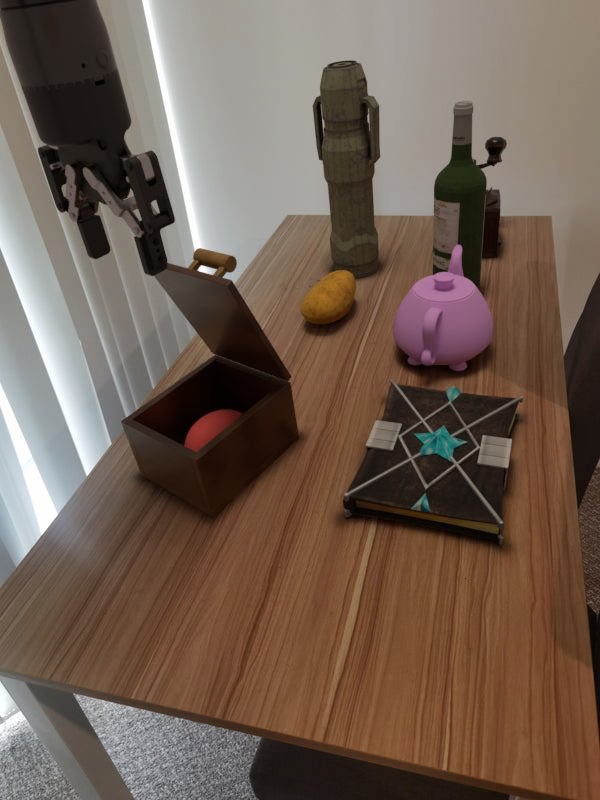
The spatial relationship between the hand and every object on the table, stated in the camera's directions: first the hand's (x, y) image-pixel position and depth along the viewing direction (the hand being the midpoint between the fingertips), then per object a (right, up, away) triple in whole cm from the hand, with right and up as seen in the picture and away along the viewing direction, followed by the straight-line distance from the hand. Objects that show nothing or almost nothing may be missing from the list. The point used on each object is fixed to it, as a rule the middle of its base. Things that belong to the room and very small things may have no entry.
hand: (127, 263), depth 57 cm
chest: (+6, -20, +20) cm, 29 cm away
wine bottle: (+43, +6, +47) cm, 64 cm away
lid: (+7, -4, +12) cm, 15 cm away
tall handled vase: (+27, +12, +59) cm, 66 cm away
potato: (+22, +1, +46) cm, 50 cm away
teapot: (+38, -5, +34) cm, 51 cm away
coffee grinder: (+50, +18, +62) cm, 82 cm away
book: (+33, -21, +15) cm, 41 cm away
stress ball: (+7, -18, +17) cm, 26 cm away
